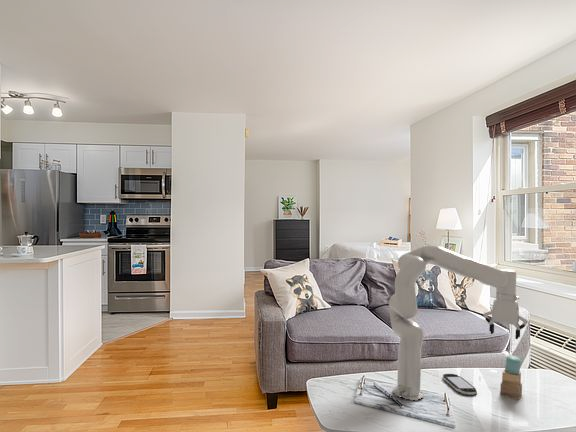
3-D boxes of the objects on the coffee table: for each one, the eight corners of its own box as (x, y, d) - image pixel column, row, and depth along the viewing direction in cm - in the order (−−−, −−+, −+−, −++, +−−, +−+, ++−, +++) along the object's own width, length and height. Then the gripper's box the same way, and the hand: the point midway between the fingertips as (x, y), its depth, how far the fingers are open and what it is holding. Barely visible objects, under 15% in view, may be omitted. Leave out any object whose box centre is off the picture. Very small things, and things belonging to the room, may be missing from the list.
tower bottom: (518, 400, 160) (519, 388, 160) (500, 394, 165) (500, 383, 165) (521, 394, 165) (522, 383, 165) (503, 389, 170) (504, 378, 170)
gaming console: (439, 378, 182) (439, 372, 182) (457, 377, 182) (457, 372, 182) (460, 396, 163) (460, 391, 163) (480, 396, 163) (480, 390, 163)
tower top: (517, 388, 161) (518, 376, 161) (502, 383, 165) (502, 372, 165) (520, 383, 165) (520, 372, 165) (505, 379, 169) (505, 368, 169)
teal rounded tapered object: (513, 375, 161) (515, 362, 161) (502, 369, 166) (503, 356, 165) (522, 373, 164) (523, 360, 163) (510, 366, 169) (512, 354, 168)
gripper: (529, 299, 164) (528, 338, 164) (486, 293, 175) (484, 329, 175) (527, 301, 158) (525, 342, 158) (482, 295, 169) (480, 333, 169)
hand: (504, 335), depth 166 cm, fingers open, 9 cm apart
